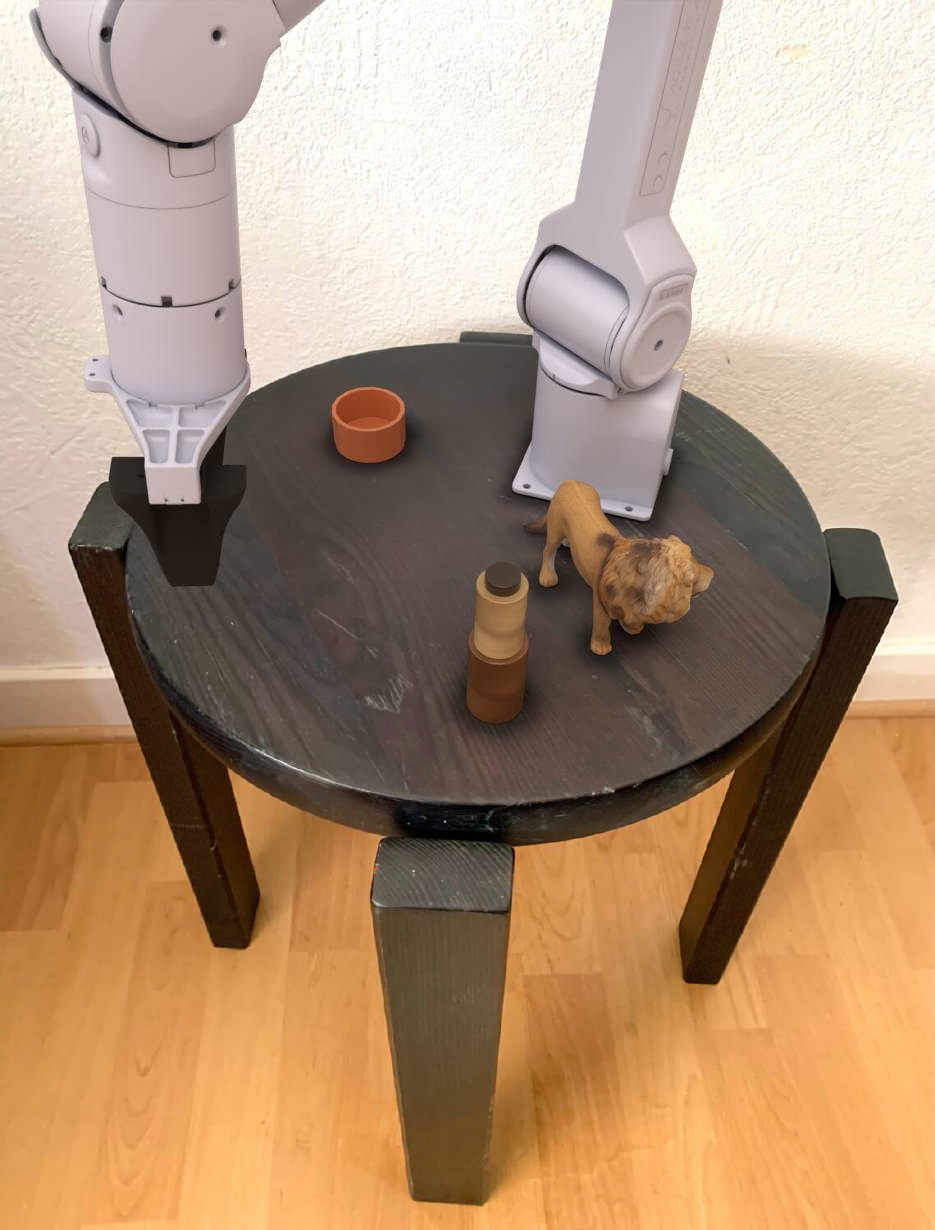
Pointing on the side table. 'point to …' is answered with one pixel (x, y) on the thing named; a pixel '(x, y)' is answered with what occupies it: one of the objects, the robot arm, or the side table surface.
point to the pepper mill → (500, 610)
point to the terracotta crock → (369, 424)
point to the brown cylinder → (495, 684)
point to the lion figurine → (618, 565)
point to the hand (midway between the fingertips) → (195, 529)
